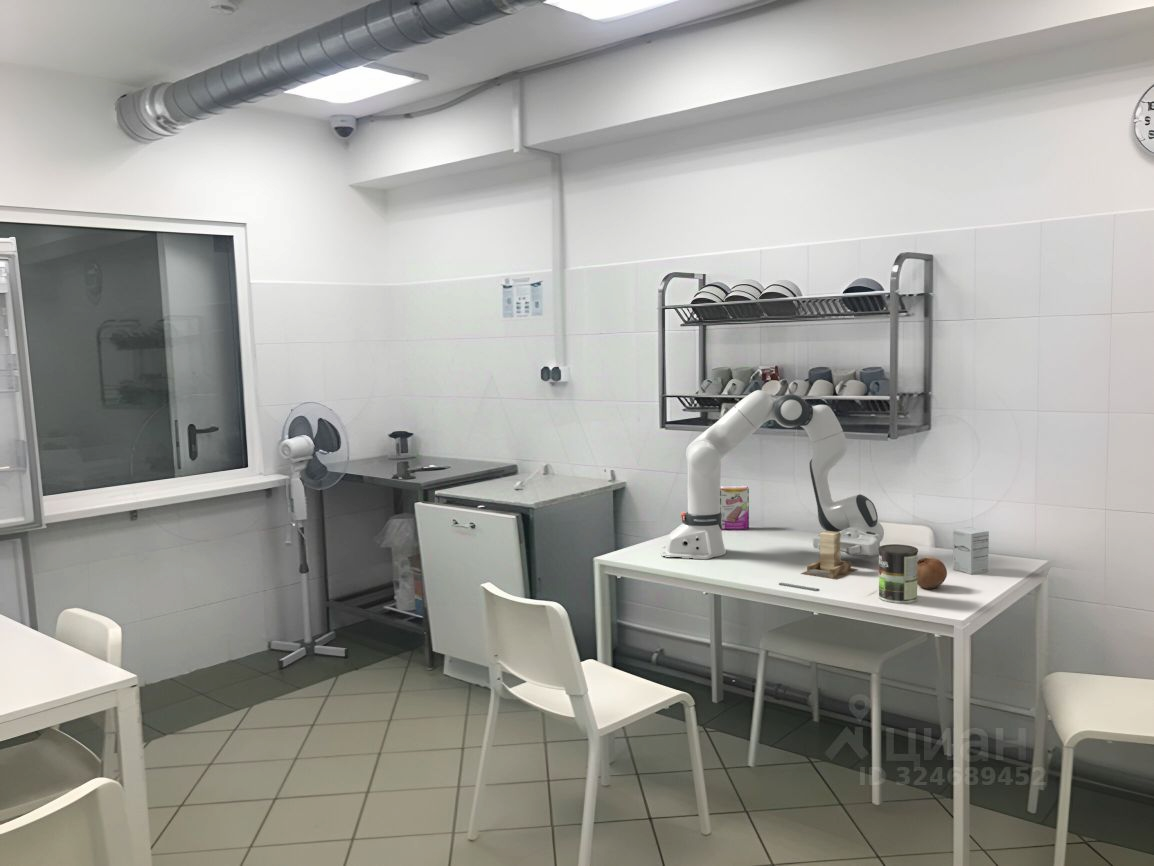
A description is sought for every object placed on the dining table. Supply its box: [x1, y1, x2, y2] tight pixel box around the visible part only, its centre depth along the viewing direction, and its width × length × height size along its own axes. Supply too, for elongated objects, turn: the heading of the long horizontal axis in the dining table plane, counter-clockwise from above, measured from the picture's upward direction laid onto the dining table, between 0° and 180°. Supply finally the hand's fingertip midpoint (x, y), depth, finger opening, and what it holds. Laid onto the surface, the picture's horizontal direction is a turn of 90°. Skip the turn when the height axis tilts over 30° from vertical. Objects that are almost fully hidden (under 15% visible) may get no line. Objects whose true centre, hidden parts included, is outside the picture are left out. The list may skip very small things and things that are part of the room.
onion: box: [917, 556, 948, 590], centre depth 258 cm, size 10×9×10 cm
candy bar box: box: [720, 485, 750, 531], centre depth 347 cm, size 11×5×16 cm, turn 84°
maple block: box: [819, 530, 842, 572], centre depth 278 cm, size 4×4×12 cm
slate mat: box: [778, 582, 820, 592], centre depth 267 cm, size 12×12×1 cm
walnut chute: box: [800, 560, 859, 580], centre depth 278 cm, size 15×12×3 cm
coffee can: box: [878, 543, 919, 604], centre depth 248 cm, size 10×10×14 cm
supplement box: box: [952, 526, 990, 575], centre depth 274 cm, size 7×7×13 cm
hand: (834, 549), depth 280 cm, fingers open, 8 cm apart
